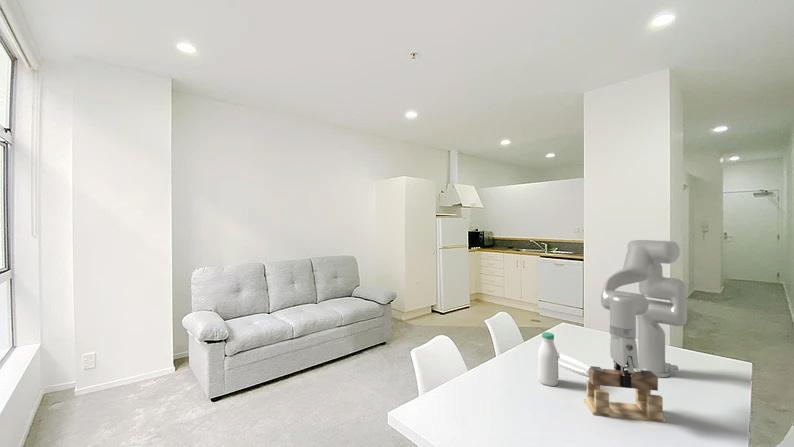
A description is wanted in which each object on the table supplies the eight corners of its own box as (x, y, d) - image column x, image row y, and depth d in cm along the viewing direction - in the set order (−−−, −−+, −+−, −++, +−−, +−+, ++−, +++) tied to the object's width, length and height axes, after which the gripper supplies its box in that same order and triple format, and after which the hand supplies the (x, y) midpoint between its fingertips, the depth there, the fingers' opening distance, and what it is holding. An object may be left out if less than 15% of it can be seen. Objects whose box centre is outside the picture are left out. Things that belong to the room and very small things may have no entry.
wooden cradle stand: (651, 408, 117) (651, 385, 117) (666, 422, 108) (666, 398, 108) (583, 401, 121) (583, 379, 121) (592, 414, 112) (592, 391, 113)
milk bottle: (557, 388, 131) (557, 338, 131) (536, 383, 135) (536, 334, 135) (559, 380, 137) (559, 332, 137) (539, 376, 141) (539, 329, 142)
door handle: (554, 354, 166) (601, 375, 143) (539, 357, 163) (585, 379, 140) (554, 349, 166) (601, 369, 143) (539, 352, 163) (585, 372, 140)
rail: (651, 385, 114) (651, 371, 114) (657, 390, 111) (657, 375, 111) (589, 380, 118) (589, 366, 118) (592, 384, 115) (592, 370, 115)
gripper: (647, 340, 106) (647, 397, 106) (623, 325, 122) (623, 374, 122) (622, 338, 107) (621, 395, 107) (600, 323, 124) (600, 372, 123)
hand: (622, 383), depth 115 cm, fingers closed on rail, 3 cm apart
